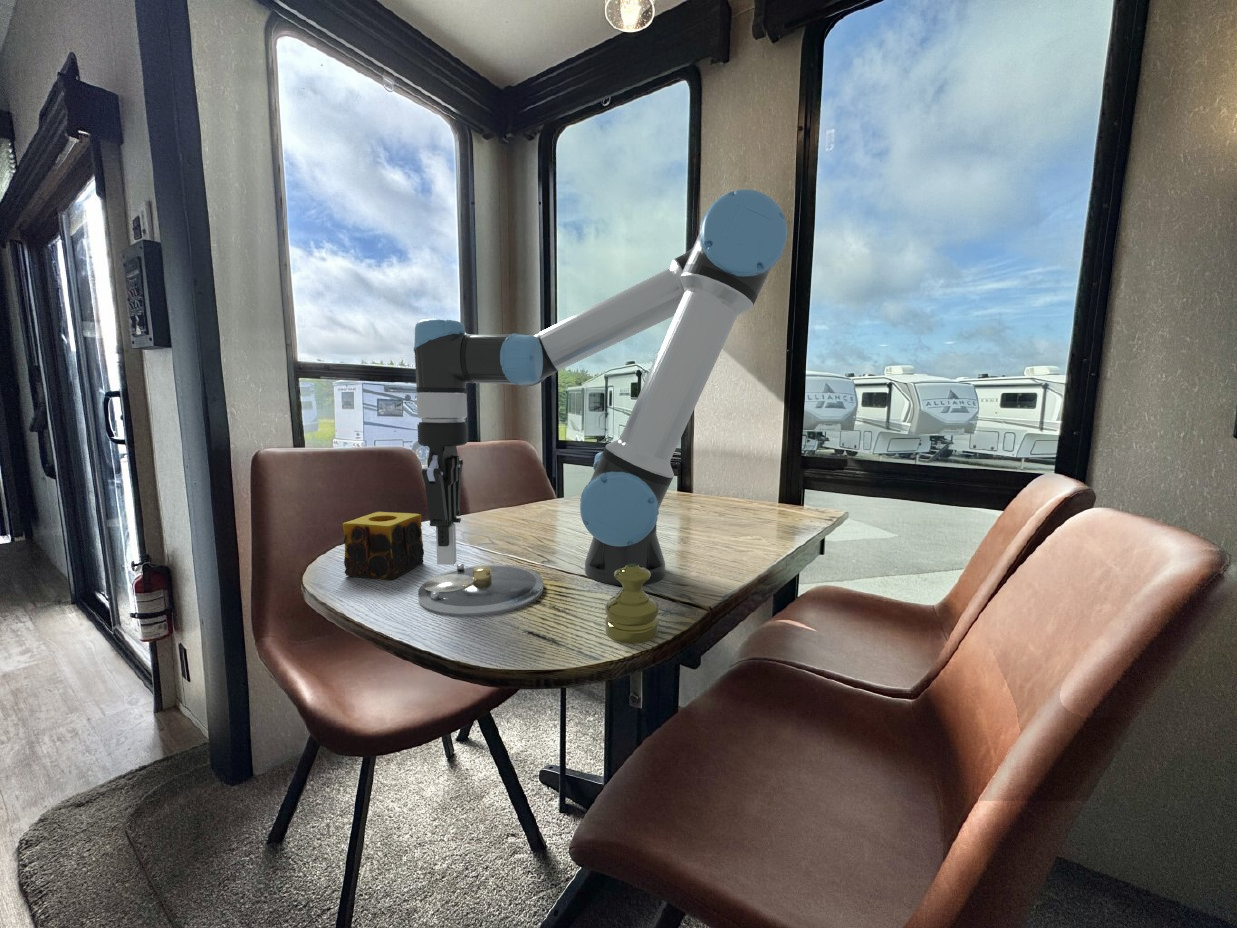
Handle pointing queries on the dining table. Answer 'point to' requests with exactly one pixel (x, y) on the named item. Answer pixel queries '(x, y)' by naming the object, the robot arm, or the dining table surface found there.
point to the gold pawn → (632, 608)
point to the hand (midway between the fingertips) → (446, 562)
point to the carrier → (480, 590)
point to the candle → (383, 545)
